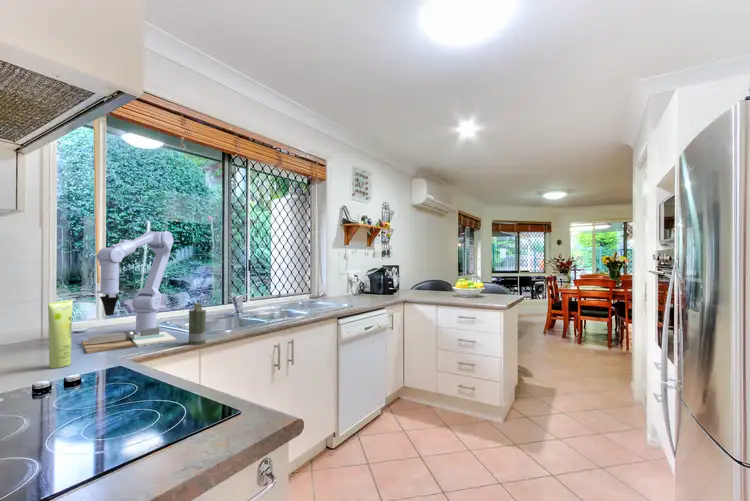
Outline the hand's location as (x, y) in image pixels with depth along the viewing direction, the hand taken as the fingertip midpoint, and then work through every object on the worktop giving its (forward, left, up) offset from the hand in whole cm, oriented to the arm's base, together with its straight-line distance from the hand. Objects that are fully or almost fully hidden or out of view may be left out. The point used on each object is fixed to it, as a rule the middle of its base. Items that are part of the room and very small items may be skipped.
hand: (109, 314), depth 142 cm
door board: (+6, +13, -10) cm, 18 cm away
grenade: (+24, +25, -10) cm, 36 cm away
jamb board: (+6, -1, -10) cm, 12 cm away
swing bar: (+5, 0, -9) cm, 11 cm away
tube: (+28, -15, -10) cm, 33 cm away
